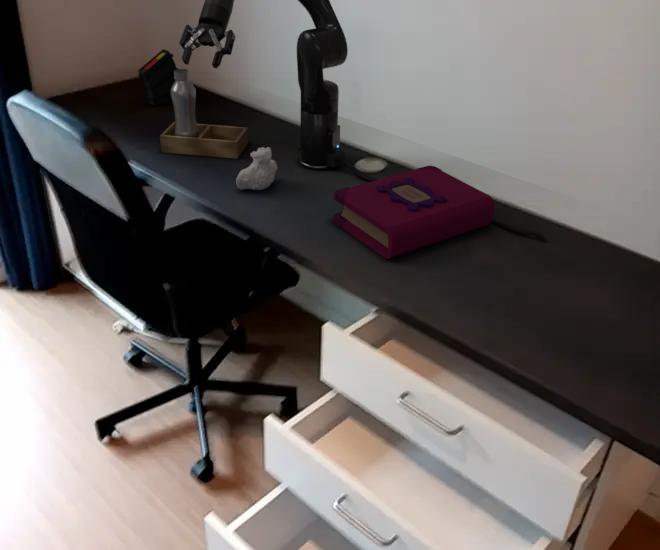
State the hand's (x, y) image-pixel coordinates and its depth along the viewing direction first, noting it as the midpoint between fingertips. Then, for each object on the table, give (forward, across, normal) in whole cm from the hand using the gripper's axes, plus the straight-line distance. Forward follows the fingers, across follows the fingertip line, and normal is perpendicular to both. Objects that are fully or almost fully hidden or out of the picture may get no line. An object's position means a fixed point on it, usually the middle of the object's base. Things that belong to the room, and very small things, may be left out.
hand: (199, 64), depth 188 cm
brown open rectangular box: (+20, +5, +7) cm, 21 cm away
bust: (+32, +28, -4) cm, 42 cm away
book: (+35, +66, -8) cm, 75 cm away
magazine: (0, -24, +27) cm, 36 cm away
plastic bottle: (+20, 0, +7) cm, 22 cm away
